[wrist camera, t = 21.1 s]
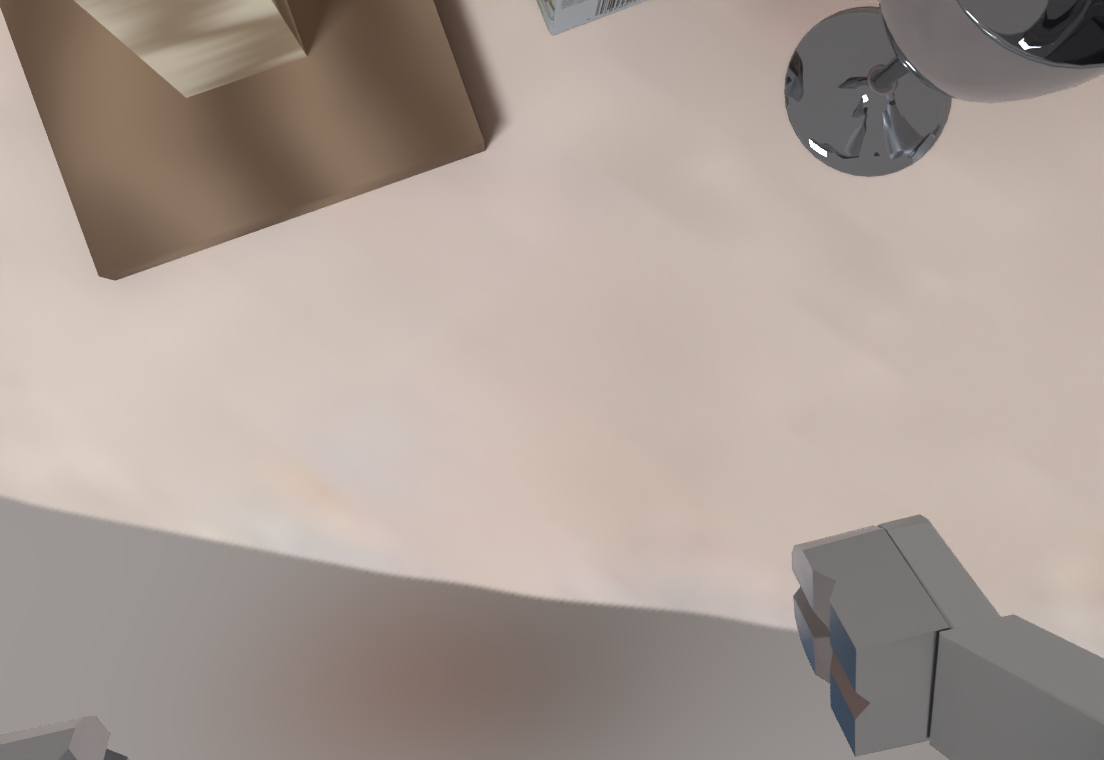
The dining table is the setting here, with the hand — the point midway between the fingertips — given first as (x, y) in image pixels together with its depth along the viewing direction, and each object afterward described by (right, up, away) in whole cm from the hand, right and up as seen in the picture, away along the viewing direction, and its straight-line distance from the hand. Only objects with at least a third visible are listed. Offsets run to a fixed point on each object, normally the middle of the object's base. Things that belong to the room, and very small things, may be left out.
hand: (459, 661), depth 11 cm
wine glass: (+14, +15, +29) cm, 36 cm away
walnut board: (-12, +18, +28) cm, 35 cm away
